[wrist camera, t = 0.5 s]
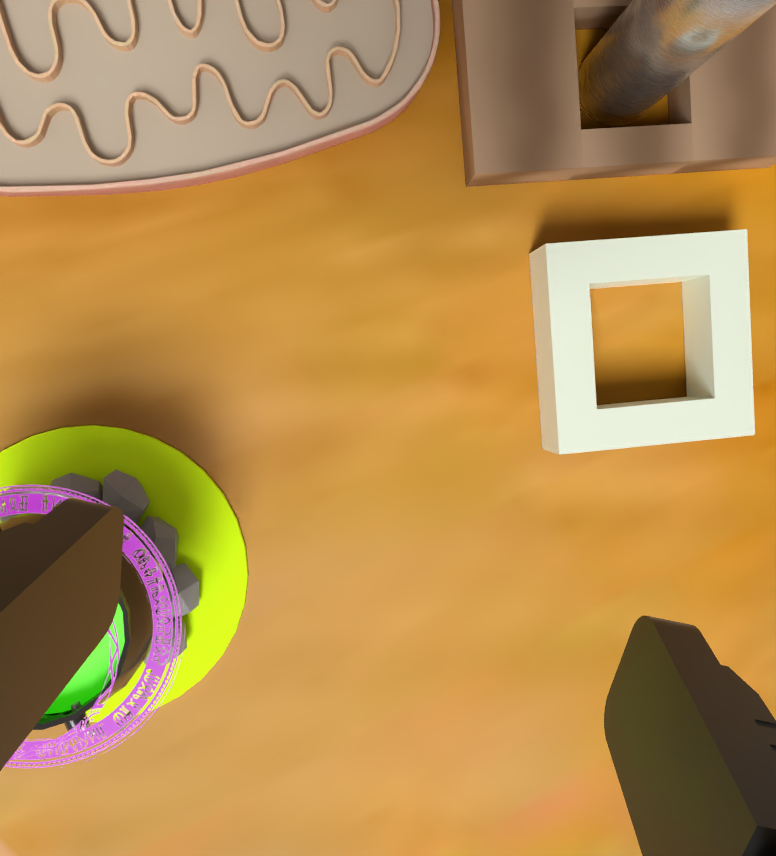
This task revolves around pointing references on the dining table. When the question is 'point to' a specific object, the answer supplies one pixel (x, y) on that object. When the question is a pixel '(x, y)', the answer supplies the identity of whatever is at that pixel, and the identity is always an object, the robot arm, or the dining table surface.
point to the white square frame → (703, 338)
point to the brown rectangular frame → (560, 110)
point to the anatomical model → (196, 86)
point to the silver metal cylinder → (657, 52)
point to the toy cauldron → (134, 573)
